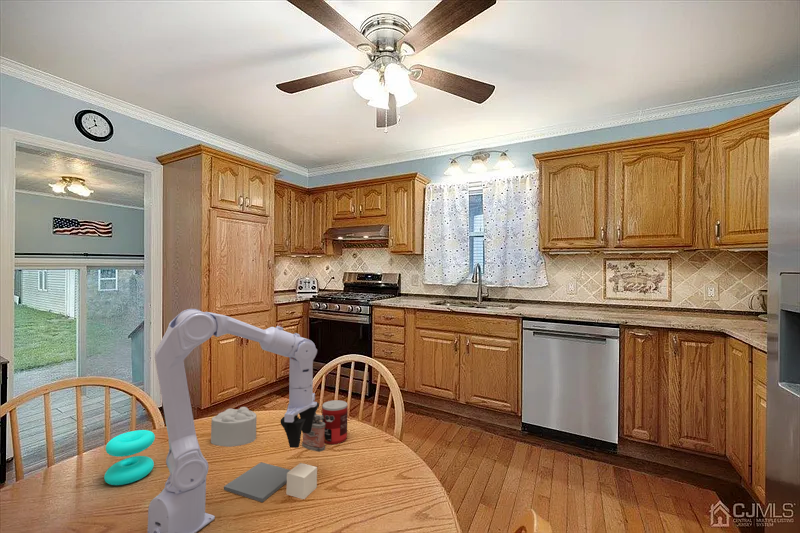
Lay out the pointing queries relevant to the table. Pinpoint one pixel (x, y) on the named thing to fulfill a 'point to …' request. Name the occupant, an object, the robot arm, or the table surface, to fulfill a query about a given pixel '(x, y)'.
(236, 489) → the grey square plate
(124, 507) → the table surface
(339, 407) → the canned food
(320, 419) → the lighter
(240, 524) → the table surface
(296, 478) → the cube
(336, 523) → the table surface
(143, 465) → the donuts
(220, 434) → the lumpy-topped squat cylinder
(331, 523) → the table surface
